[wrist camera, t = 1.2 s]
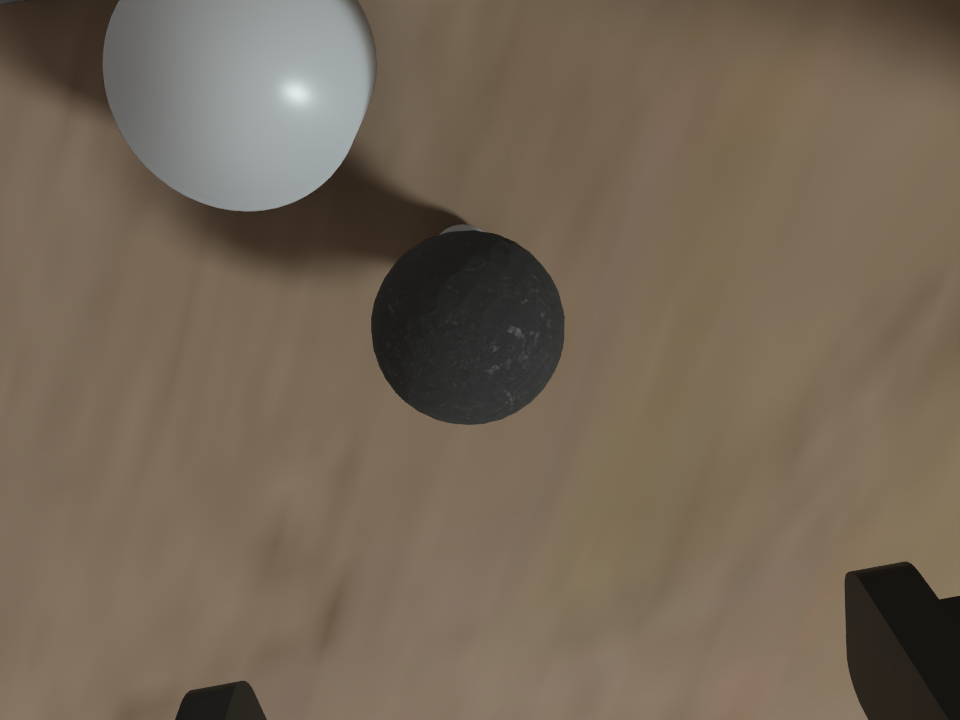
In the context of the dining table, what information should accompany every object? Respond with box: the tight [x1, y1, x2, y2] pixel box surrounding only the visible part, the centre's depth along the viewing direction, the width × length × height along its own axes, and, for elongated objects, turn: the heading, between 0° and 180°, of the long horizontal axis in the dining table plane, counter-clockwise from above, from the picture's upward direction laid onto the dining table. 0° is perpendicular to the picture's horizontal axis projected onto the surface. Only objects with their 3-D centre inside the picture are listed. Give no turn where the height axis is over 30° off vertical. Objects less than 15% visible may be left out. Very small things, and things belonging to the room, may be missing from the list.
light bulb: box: [371, 224, 564, 425], centre depth 27 cm, size 6×6×10 cm
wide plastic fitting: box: [103, 0, 377, 211], centre depth 26 cm, size 7×7×6 cm
